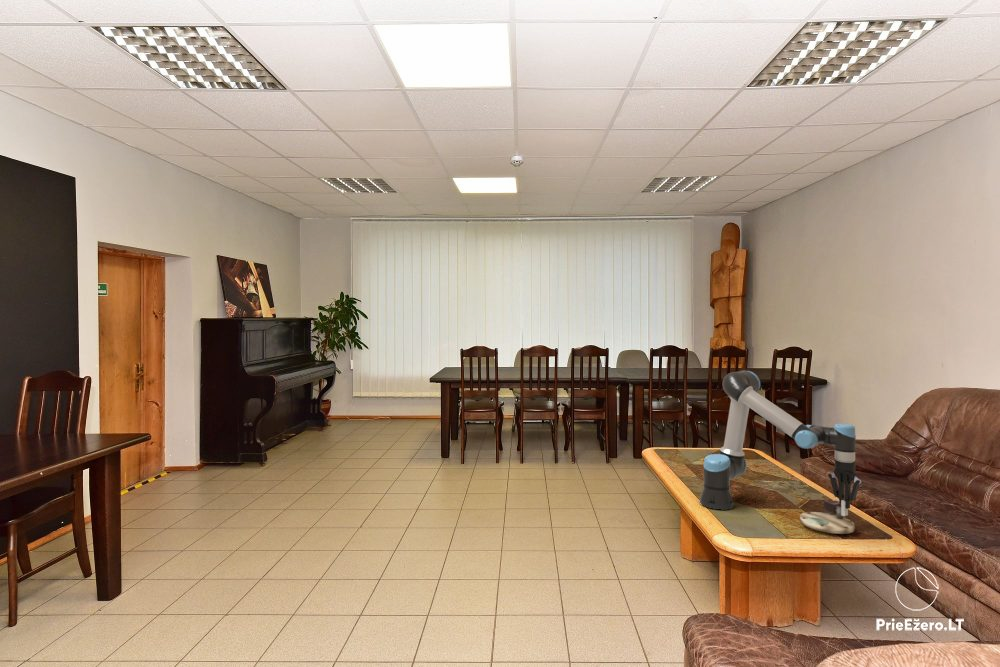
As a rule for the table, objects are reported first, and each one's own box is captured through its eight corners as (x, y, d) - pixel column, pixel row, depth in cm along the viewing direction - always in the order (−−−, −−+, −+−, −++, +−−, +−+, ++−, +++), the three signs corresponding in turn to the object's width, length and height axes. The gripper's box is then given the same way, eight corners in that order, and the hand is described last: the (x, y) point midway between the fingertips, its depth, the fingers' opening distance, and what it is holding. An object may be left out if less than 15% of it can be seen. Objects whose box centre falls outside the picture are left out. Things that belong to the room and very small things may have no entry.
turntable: (829, 536, 219) (829, 520, 219) (789, 519, 238) (789, 504, 238) (866, 530, 225) (866, 515, 225) (824, 514, 244) (824, 500, 244)
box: (834, 521, 240) (834, 504, 240) (822, 516, 246) (822, 500, 246) (844, 519, 242) (845, 503, 242) (833, 515, 248) (833, 499, 248)
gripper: (865, 462, 228) (865, 518, 229) (833, 456, 239) (833, 509, 240) (856, 465, 224) (856, 521, 225) (824, 458, 235) (824, 512, 236)
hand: (844, 515), depth 232 cm, fingers closed
